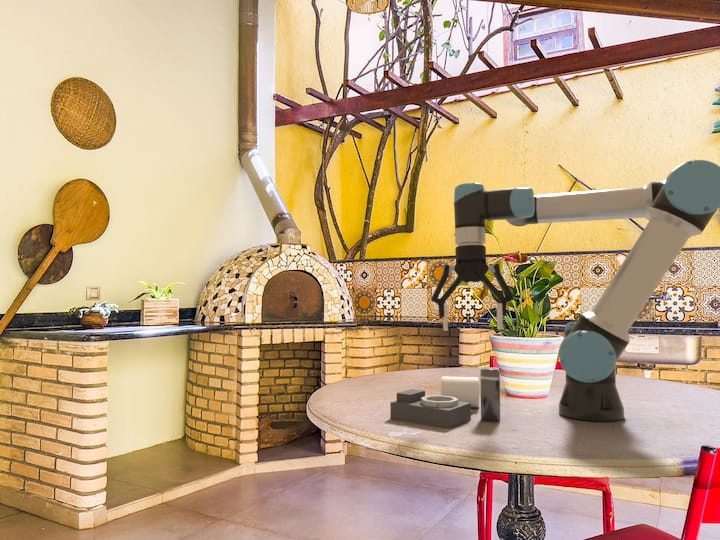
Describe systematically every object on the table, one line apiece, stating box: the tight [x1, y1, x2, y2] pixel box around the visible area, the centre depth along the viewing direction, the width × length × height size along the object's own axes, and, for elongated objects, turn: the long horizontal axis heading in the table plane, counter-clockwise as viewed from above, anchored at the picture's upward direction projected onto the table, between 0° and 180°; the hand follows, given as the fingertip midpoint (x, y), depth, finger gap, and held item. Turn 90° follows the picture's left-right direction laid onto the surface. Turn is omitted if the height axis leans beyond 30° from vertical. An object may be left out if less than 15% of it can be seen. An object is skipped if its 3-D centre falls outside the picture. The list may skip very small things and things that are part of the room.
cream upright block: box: [440, 376, 480, 409], centre depth 153 cm, size 12×10×8 cm
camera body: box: [389, 388, 472, 429], centre depth 136 cm, size 16×11×6 cm
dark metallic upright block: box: [479, 367, 501, 423], centre depth 135 cm, size 5×5×12 cm
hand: (472, 330), depth 140 cm, fingers open, 13 cm apart
